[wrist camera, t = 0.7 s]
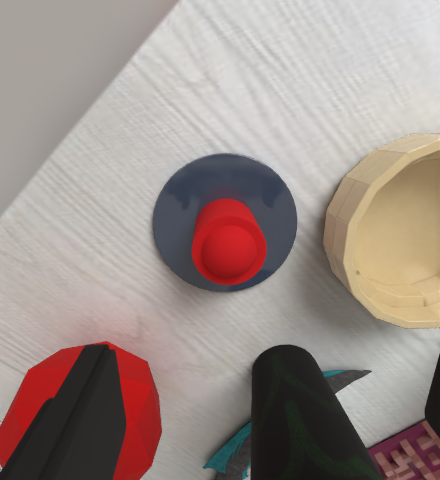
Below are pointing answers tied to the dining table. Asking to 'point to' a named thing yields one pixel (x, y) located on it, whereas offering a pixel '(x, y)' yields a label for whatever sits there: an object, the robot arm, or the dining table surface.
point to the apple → (134, 396)
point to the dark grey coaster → (223, 187)
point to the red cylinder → (228, 243)
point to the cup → (301, 423)
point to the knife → (239, 447)
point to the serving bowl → (390, 232)
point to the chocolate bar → (409, 455)
